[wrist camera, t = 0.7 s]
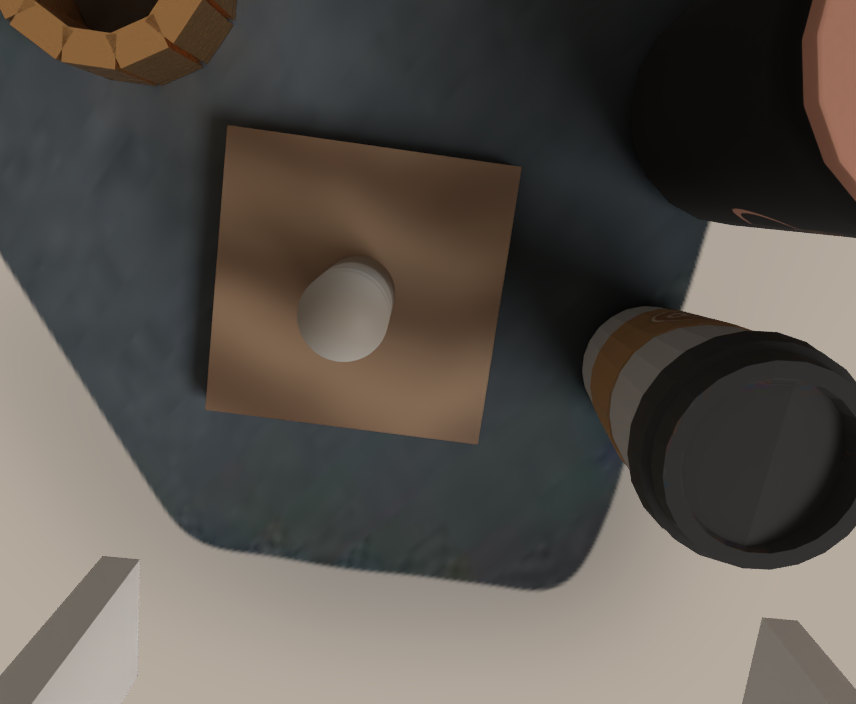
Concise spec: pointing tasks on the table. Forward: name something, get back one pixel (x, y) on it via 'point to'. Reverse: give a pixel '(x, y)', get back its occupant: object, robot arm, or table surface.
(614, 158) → the table surface
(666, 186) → the coffee jar
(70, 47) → the orange ring
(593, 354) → the coffee cup
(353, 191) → the post block
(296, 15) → the table surface
